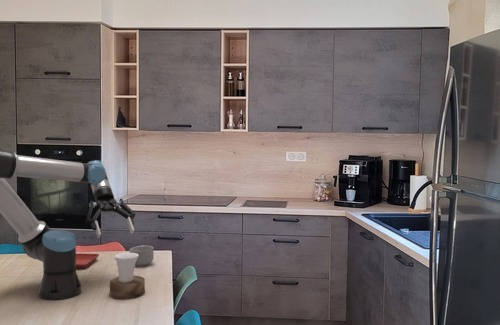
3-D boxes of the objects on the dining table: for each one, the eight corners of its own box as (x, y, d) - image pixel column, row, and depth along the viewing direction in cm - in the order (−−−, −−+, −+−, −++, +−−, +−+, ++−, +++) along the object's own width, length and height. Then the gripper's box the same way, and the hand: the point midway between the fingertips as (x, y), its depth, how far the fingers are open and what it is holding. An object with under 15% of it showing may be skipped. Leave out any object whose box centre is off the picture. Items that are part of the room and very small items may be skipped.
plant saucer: (86, 271, 222) (86, 263, 222) (46, 270, 223) (46, 263, 223) (100, 260, 240) (99, 253, 240) (62, 260, 241) (62, 253, 241)
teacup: (150, 268, 226) (150, 250, 225) (126, 268, 226) (126, 250, 226) (157, 260, 240) (156, 243, 239) (134, 260, 240) (134, 243, 240)
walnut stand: (121, 301, 182) (121, 288, 182) (103, 293, 191) (103, 280, 191) (151, 293, 191) (151, 280, 191) (132, 285, 200) (132, 273, 200)
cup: (115, 285, 185) (114, 258, 185) (114, 277, 194) (114, 252, 194) (139, 283, 188) (139, 256, 187) (138, 276, 197) (137, 251, 196)
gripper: (128, 195, 219) (143, 235, 208) (70, 200, 205) (82, 243, 194) (133, 184, 214) (148, 224, 203) (74, 188, 200) (86, 232, 189)
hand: (116, 234), depth 198 cm, fingers open, 13 cm apart
